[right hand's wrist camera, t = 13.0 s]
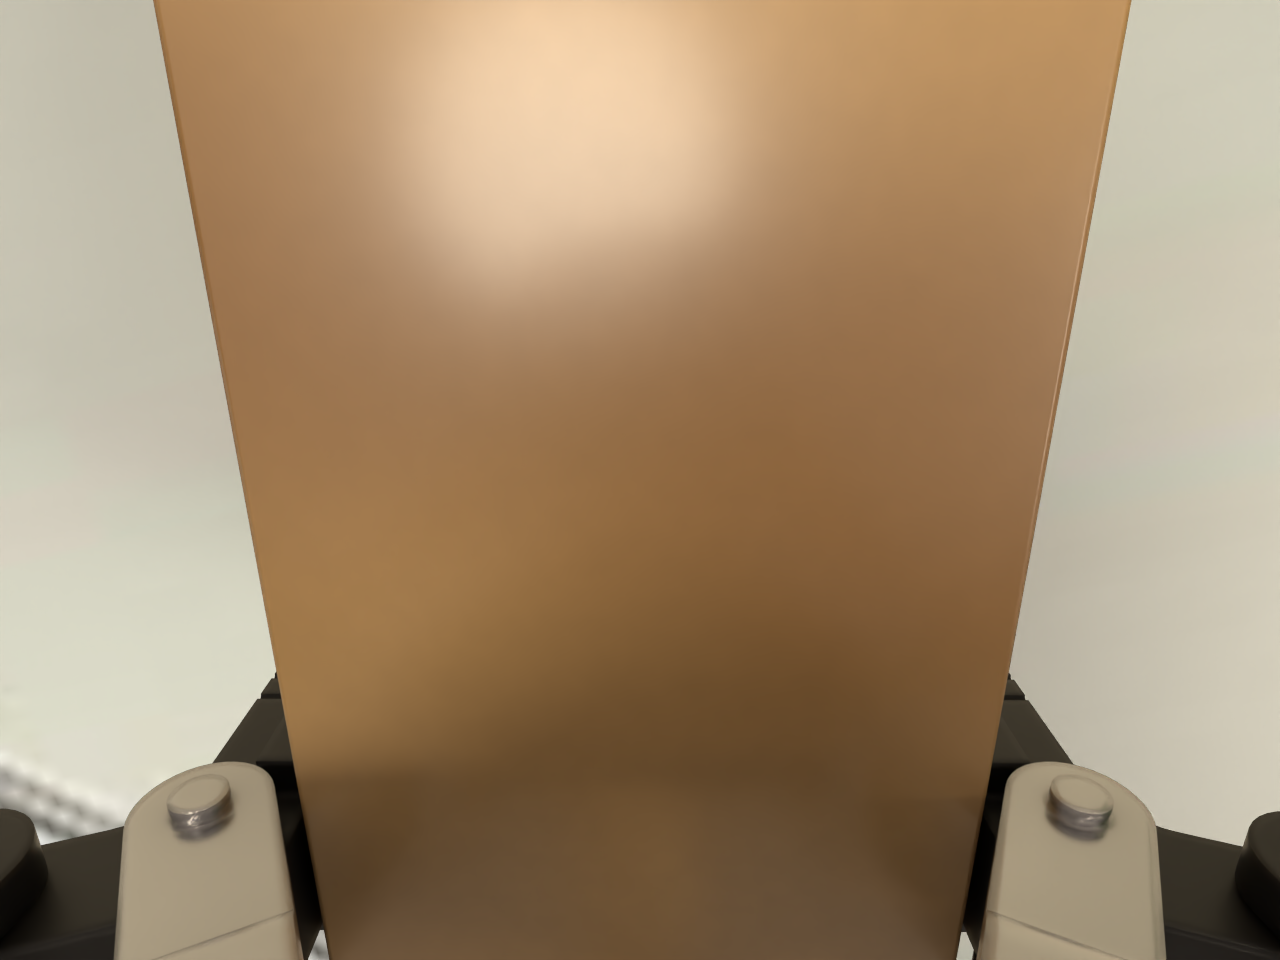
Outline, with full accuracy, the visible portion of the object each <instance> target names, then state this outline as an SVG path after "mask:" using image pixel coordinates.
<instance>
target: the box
mask: <svg viewBox="0 0 1280 960" xmlns="http://www.w3.org/2000/svg"><path fill="white" fill-rule="evenodd" d="M153 1H154V7H155V12H156V18H157V23H158V29H159V34H160V40H161V45H162V50H163V56H164V61H165V67H166V72H167V78H168V83H169V89H170V94H171V99H172V105H173V110H174V116H175V121H176V127H177V132H178V138H179V143H180V148H181V154H182V159H183V165H184V170H185V176H186V181H187V187H188V192H189V197H190V203H191V208H192V214H193V219H194V225H195V230H196V236H197V241H198V246H199V252H200V257H201V263H202V268H203V274H204V279H205V285H206V290H207V295H208V301H209V306H210V312H211V317H212V323H213V328H214V334H215V339H216V344H217V350H218V355H219V361H220V366H221V372H222V377H223V383H224V388H225V393H226V399H227V404H228V410H229V415H230V421H231V426H232V432H233V437H234V442H235V448H236V453H237V459H238V464H239V470H240V475H241V481H242V486H243V491H244V497H245V502H246V508H247V513H248V519H249V524H250V530H251V535H252V540H253V546H254V551H255V557H256V562H257V568H258V573H259V579H260V584H261V589H262V595H263V600H264V606H265V611H266V617H267V622H268V628H269V633H270V638H271V644H272V649H273V655H274V660H275V666H276V671H277V677H278V682H279V687H280V693H281V698H282V704H283V709H284V715H285V720H286V726H287V731H288V736H289V742H290V747H291V753H292V758H293V764H294V769H295V775H296V780H297V785H298V791H299V796H300V802H301V807H302V813H303V818H304V824H305V829H306V834H307V840H308V845H309V851H310V856H311V862H312V867H313V873H314V878H315V883H316V889H317V894H318V900H319V905H320V911H321V916H322V922H323V927H324V932H325V938H326V943H327V949H328V954H329V960H956V958H957V952H958V947H959V941H960V936H961V930H962V925H963V919H964V914H965V908H966V903H967V897H968V892H969V886H970V881H971V875H972V870H973V864H974V859H975V854H976V848H977V843H978V837H979V832H980V826H981V821H982V815H983V810H984V804H985V799H986V793H987V788H988V782H989V777H990V771H991V766H992V760H993V755H994V749H995V744H996V739H997V733H998V728H999V722H1000V717H1001V711H1002V706H1003V700H1004V695H1005V689H1006V684H1007V678H1008V673H1009V667H1010V662H1011V656H1012V651H1013V645H1014V640H1015V635H1016V629H1017V624H1018V618H1019V613H1020V607H1021V602H1022V596H1023V591H1024V585H1025V580H1026V574H1027V569H1028V563H1029V558H1030V552H1031V547H1032V541H1033V536H1034V531H1035V525H1036V520H1037V514H1038V509H1039V503H1040V498H1041V492H1042V487H1043V481H1044V476H1045V470H1046V465H1047V459H1048V454H1049V448H1050V443H1051V437H1052V432H1053V426H1054V421H1055V416H1056V410H1057V405H1058V399H1059V394H1060V388H1061V383H1062V377H1063V372H1064V366H1065V361H1066V355H1067V350H1068V344H1069V339H1070V333H1071V328H1072V322H1073V317H1074V312H1075V306H1076V301H1077V295H1078V290H1079V284H1080V279H1081V273H1082V268H1083V262H1084V257H1085V251H1086V246H1087V240H1088V235H1089V229H1090V224H1091V218H1092V213H1093V207H1094V202H1095V197H1096V191H1097V186H1098V180H1099V175H1100V169H1101V164H1102V158H1103V153H1104V147H1105V142H1106V136H1107V131H1108V125H1109V120H1110V114H1111V109H1112V103H1113V98H1114V93H1115V87H1116V82H1117V76H1118V71H1119V65H1120V60H1121V54H1122V49H1123V43H1124V38H1125V32H1126V27H1127V21H1128V16H1129V10H1130V5H1131V0H153Z"/></svg>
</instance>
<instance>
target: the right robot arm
mask: <svg viewBox="0 0 1280 960" xmlns="http://www.w3.org/2000/svg"><path fill="white" fill-rule="evenodd" d="M320 930H324V927H323V922H322V916H321V911H320V905H319V900H318V894H317V889H316V883H315V878H314V873H313V867H312V862H311V856H310V851H309V845H308V840H307V834H306V829H305V824H304V818H303V813H302V807H301V802H300V796H299V791H298V785H297V780H296V775H295V769H294V764H293V758H292V753H291V747H290V742H289V736H288V731H287V726H286V720H285V715H284V709H283V704H282V698H281V693H280V687H279V682H278V677H277V671H276V673H275V678H272V679H271V680H270V682H269V683H268V684H267V686H266V687H265V689H264V690H263V692H262V693H261V699H257V700H256V702H255V703H254V704H253V706H252V707H251V709H250V710H249V712H248V713H247V715H246V716H245V717H244V719H243V720H242V722H241V723H240V725H239V726H238V727H237V729H236V730H235V732H234V733H233V735H232V736H231V737H230V739H229V740H228V742H227V743H226V745H225V746H224V747H223V749H222V750H221V752H220V753H219V755H218V756H217V758H216V759H215V760H214V762H213V763H212V764H207V765H203V766H199V767H196V768H193V769H190V770H187V771H185V772H182V773H180V774H177V775H175V776H173V777H171V778H170V779H168V780H166V781H164V782H162V783H161V784H159V785H158V786H156V787H155V788H153V789H152V790H151V791H149V792H148V793H147V794H146V795H145V796H143V797H142V798H141V799H140V801H139V802H138V803H137V804H136V805H135V806H134V807H133V809H132V810H131V812H130V813H129V815H128V817H127V819H126V821H125V825H124V826H123V827H119V828H115V829H111V830H107V831H103V832H98V833H94V834H90V835H85V836H81V837H76V838H72V839H67V840H63V841H58V842H54V843H49V844H45V845H40V842H39V839H38V836H37V833H36V830H35V827H34V824H33V822H32V821H31V819H30V818H29V817H28V816H26V815H25V814H23V813H21V812H18V811H16V810H10V809H0V960H308V958H309V955H310V953H311V950H312V948H313V945H314V943H315V941H316V938H317V936H318V933H319V931H320ZM961 932H967V935H968V937H969V939H970V942H971V944H972V947H973V949H974V952H973V957H972V960H1280V811H1277V812H1271V813H1266V814H1264V815H1261V816H1259V817H1258V818H1256V819H1255V820H1254V821H1253V822H1252V824H1251V825H1250V827H1249V830H1248V833H1247V836H1246V839H1245V842H1244V845H1243V847H1241V846H1237V845H1232V844H1228V843H1224V842H1219V841H1215V840H1210V839H1206V838H1201V837H1197V836H1192V835H1188V834H1184V833H1179V832H1175V831H1171V830H1168V829H1164V828H1161V827H1158V826H1156V825H1155V821H1154V819H1153V817H1152V815H1151V813H1150V812H1149V810H1148V809H1147V807H1146V806H1145V805H1144V804H1143V803H1142V802H1141V800H1140V799H1139V798H1138V797H1137V796H1135V795H1134V794H1133V793H1132V792H1131V791H1129V790H1128V789H1127V788H1125V787H1124V786H1122V785H1121V784H1119V783H1118V782H1116V781H1114V780H1112V779H1111V778H1109V777H1107V776H1105V775H1103V774H1100V773H1098V772H1095V771H1093V770H1090V769H1087V768H1084V767H1081V766H1077V765H1074V764H1073V763H1072V761H1071V760H1070V759H1069V757H1068V756H1067V754H1066V753H1065V752H1064V750H1063V749H1062V747H1061V746H1060V744H1059V743H1058V742H1057V740H1056V739H1055V737H1054V736H1053V735H1052V733H1051V732H1050V730H1049V729H1048V727H1047V726H1046V725H1045V723H1044V722H1043V720H1042V719H1041V717H1040V716H1039V715H1038V713H1037V712H1036V710H1035V709H1034V708H1033V706H1032V705H1031V703H1030V702H1029V700H1025V695H1024V693H1023V692H1022V691H1021V689H1020V688H1019V686H1018V685H1017V683H1016V682H1015V681H1014V680H1011V678H1010V674H1009V673H1008V678H1007V684H1006V689H1005V695H1004V700H1003V706H1002V711H1001V717H1000V722H999V728H998V733H997V739H996V744H995V749H994V755H993V760H992V766H991V771H990V777H989V782H988V788H987V793H986V799H985V804H984V810H983V815H982V821H981V826H980V832H979V837H978V843H977V848H976V854H975V859H974V864H973V870H972V875H971V881H970V886H969V892H968V897H967V903H966V908H965V914H964V919H963V925H962V930H961Z"/></svg>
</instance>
